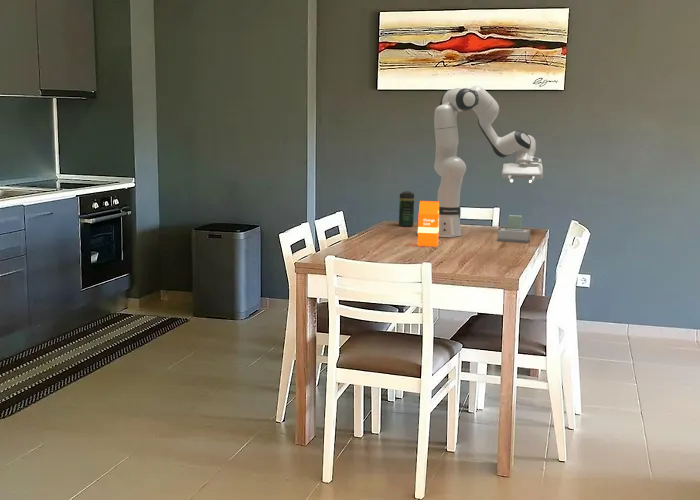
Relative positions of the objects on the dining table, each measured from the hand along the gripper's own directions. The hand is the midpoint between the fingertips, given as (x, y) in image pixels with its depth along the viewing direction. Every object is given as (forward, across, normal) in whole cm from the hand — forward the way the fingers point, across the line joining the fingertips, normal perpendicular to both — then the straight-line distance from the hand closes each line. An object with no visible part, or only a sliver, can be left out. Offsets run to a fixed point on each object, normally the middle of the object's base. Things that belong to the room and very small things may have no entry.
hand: (520, 183), depth 383 cm
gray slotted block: (+32, +1, +3) cm, 33 cm away
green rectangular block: (+27, 0, +9) cm, 28 cm away
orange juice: (+53, -33, -18) cm, 65 cm away
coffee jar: (+13, -61, +23) cm, 66 cm away
